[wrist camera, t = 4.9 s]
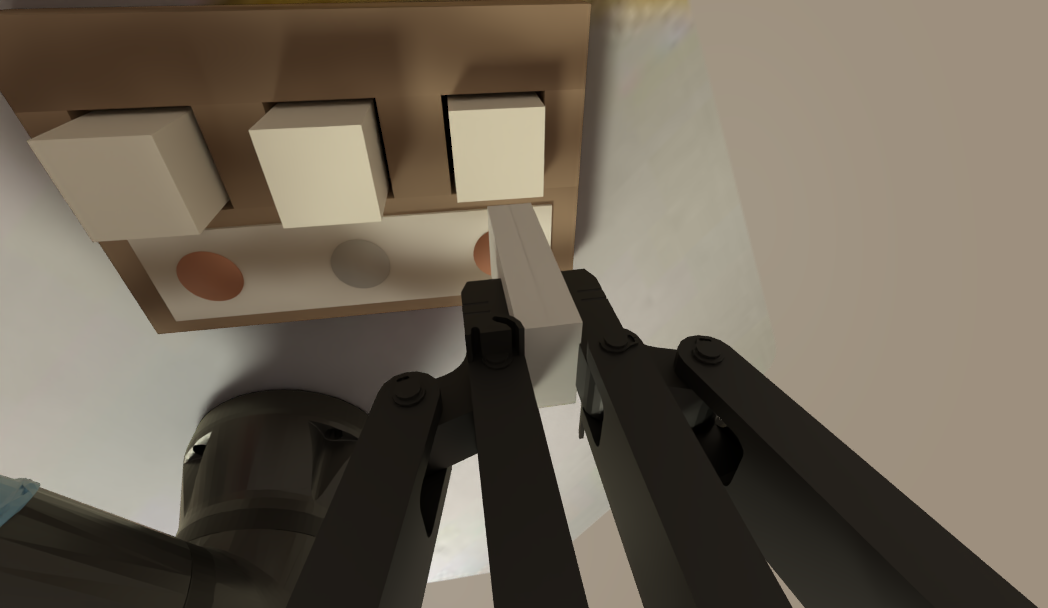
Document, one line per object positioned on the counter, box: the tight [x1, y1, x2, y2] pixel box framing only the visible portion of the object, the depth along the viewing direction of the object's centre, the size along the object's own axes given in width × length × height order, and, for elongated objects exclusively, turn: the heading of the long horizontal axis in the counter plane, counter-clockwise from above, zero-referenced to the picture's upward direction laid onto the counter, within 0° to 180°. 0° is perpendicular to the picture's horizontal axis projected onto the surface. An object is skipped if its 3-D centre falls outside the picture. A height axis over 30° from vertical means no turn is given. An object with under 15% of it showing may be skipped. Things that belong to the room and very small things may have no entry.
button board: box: [0, 0, 591, 334], centre depth 25 cm, size 16×25×3 cm, turn 90°
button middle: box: [248, 99, 389, 228], centre depth 22 cm, size 4×4×4 cm
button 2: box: [27, 106, 230, 242], centre depth 21 cm, size 4×4×4 cm
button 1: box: [447, 91, 545, 203], centre depth 24 cm, size 4×4×4 cm
